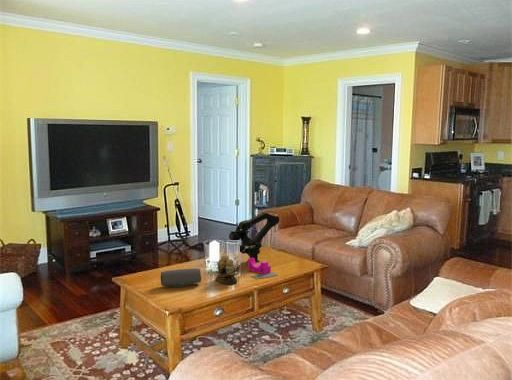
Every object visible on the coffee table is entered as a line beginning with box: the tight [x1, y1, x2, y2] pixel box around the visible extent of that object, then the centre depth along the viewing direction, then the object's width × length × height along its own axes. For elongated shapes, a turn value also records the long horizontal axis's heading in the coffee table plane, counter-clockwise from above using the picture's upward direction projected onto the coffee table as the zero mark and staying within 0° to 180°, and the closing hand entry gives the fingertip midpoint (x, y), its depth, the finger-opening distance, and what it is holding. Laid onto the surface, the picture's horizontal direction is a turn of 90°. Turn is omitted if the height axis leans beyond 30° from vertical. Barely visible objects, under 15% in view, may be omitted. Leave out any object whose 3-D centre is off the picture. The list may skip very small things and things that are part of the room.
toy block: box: [247, 257, 272, 274], centre depth 297 cm, size 15×6×8 cm, turn 43°
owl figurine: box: [215, 254, 238, 286], centre depth 276 cm, size 18×12×17 cm, turn 35°
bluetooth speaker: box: [160, 268, 202, 288], centre depth 266 cm, size 23×9×10 cm, turn 110°
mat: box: [251, 271, 279, 280], centre depth 288 cm, size 7×16×1 cm, turn 120°
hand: (252, 258), depth 304 cm, fingers closed
